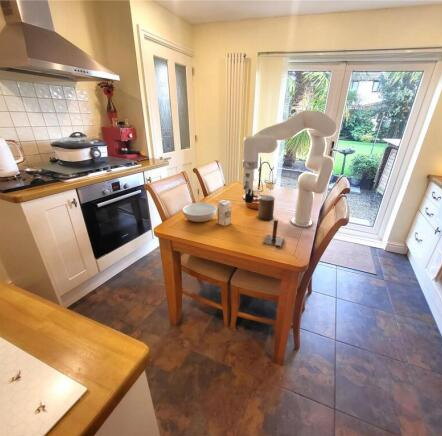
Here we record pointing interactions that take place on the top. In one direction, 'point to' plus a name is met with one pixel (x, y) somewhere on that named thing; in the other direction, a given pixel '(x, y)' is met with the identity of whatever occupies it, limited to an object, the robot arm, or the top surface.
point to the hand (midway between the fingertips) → (249, 201)
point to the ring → (253, 199)
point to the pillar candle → (266, 207)
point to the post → (274, 237)
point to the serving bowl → (199, 211)
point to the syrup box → (224, 212)
